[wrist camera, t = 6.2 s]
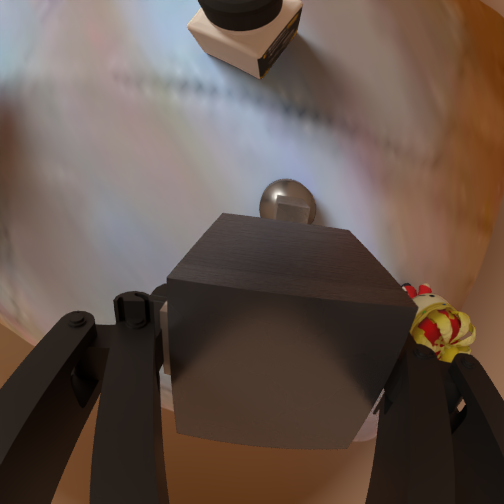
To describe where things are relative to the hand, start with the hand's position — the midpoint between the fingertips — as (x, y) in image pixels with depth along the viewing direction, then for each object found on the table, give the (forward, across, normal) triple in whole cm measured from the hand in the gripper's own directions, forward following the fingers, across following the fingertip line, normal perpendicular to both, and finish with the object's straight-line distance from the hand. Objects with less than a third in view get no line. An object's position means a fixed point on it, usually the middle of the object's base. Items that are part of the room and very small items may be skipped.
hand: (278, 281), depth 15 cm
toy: (+16, +17, -7) cm, 24 cm away
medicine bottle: (+16, -5, +19) cm, 25 cm away
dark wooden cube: (0, 0, 0) cm, 0 cm away
